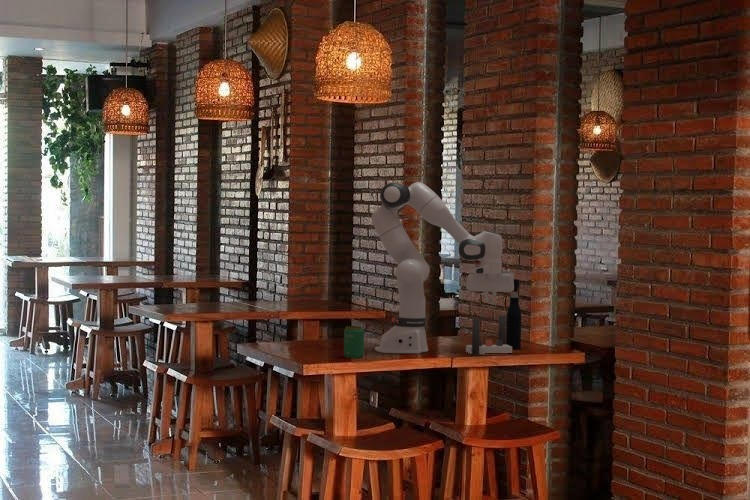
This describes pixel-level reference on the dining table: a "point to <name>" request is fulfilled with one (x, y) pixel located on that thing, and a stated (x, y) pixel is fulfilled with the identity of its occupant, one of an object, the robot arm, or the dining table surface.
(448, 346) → the dining table surface
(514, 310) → the wine bottle
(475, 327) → the dark grey tall bar
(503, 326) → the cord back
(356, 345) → the beverage can
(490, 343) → the breaker paddles
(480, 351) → the breaker box
